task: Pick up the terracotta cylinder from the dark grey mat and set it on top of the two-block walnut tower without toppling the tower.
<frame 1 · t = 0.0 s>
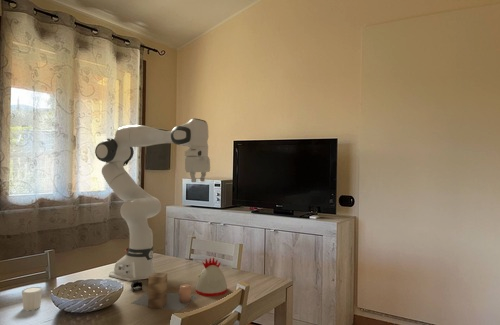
hand: (198, 181, 173), 48 cm above the table, tool pointing down, fingers open, 8 cm apart
block lower: (157, 305, 144), resting on mat, touching block upper
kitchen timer: (211, 291, 162), on the table
mat: (165, 300, 149), on the table
drum: (185, 300, 149), resting on mat
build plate: (136, 292, 161), on the table
shot glass: (31, 308, 140), on the table
block upper: (157, 290, 144), point 6 cm above the table, touching block lower
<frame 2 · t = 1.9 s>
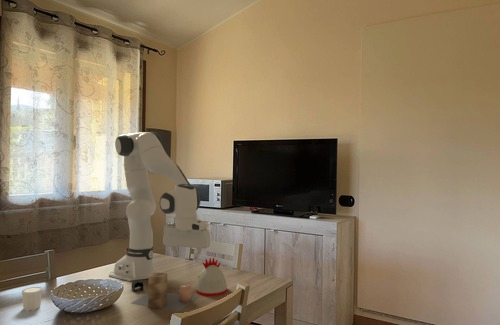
hand: (186, 257, 149), 18 cm above the table, tool pointing down, fingers open, 8 cm apart
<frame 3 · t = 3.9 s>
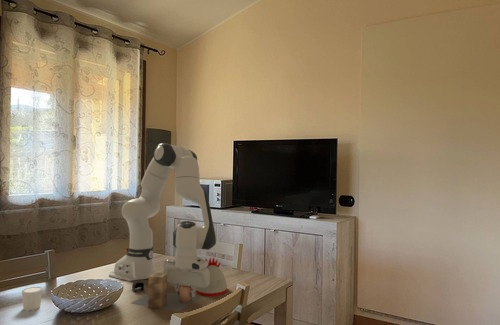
hand: (185, 295, 149), 3 cm above the table, tool pointing down, fingers closed on drum, 5 cm apart
drum: (185, 300, 149), resting on mat, touching gripper
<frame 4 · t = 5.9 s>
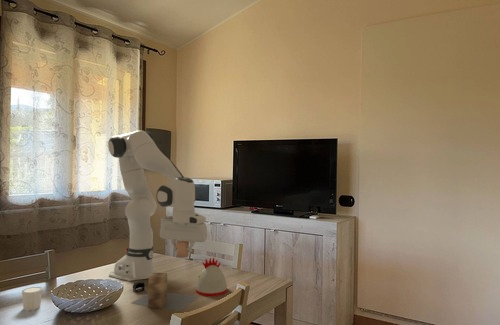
hand: (182, 251, 148), 21 cm above the table, tool pointing down, fingers closed on drum, 5 cm apart
drum: (182, 256, 148), point 19 cm above the table, touching gripper
when the fingers open (16 cm above the table, at t = 7.8 s): drum drops 1 cm, resting on block upper.
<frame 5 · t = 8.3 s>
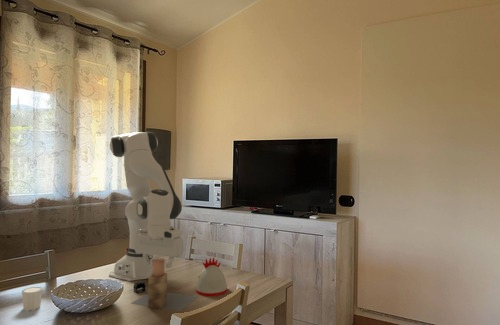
hand: (158, 266, 144), 16 cm above the table, tool pointing down, fingers open, 8 cm apart
drum: (158, 274, 144), point 12 cm above the table, touching block upper
block upper: (157, 290, 144), point 6 cm above the table, touching block lower, drum
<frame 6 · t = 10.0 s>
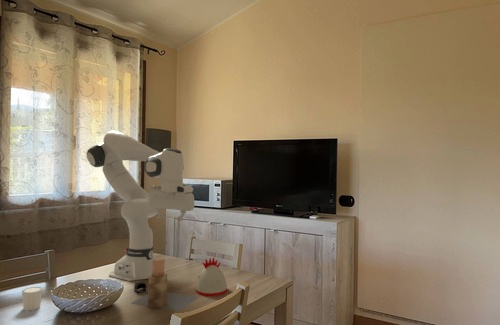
hand: (170, 219, 153), 33 cm above the table, tool pointing down, fingers open, 8 cm apart
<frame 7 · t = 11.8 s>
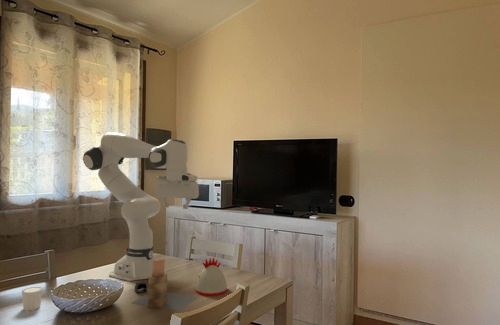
hand: (175, 208, 158), 37 cm above the table, tool pointing down, fingers open, 8 cm apart
at the end: drum 0.0 cm off-centre on the block upper, point 6.0 cm above the block upper's base; block upper tilted 0°; block lower moved 0.0 cm from its start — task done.
